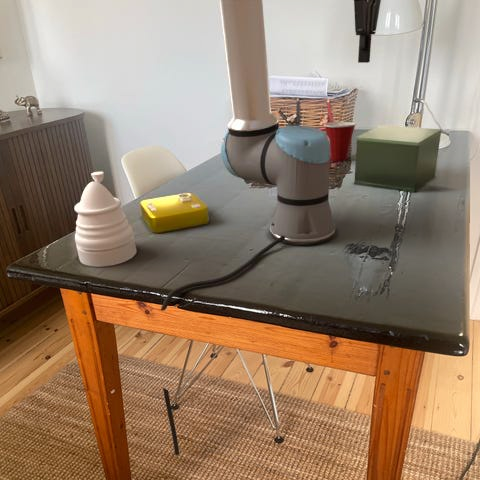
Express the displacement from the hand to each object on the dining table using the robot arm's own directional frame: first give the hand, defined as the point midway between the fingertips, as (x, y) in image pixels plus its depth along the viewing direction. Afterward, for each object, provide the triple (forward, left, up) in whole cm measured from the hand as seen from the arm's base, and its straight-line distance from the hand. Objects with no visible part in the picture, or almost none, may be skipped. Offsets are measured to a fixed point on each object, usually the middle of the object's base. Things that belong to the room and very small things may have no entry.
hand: (363, 62), depth 139 cm
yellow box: (-56, +20, -32) cm, 68 cm away
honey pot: (-80, +16, -32) cm, 88 cm away
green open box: (+4, -11, -32) cm, 34 cm away
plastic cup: (+17, +17, -32) cm, 40 cm away
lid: (+3, -11, -19) cm, 22 cm away
